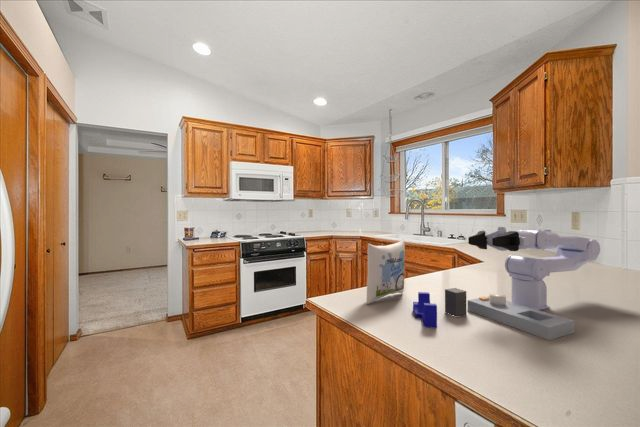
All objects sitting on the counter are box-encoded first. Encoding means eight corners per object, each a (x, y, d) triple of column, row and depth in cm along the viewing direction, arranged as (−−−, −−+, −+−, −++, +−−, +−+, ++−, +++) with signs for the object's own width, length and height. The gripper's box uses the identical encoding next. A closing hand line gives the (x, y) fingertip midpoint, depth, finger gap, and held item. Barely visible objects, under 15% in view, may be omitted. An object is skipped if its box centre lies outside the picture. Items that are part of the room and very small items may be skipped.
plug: (455, 310, 86) (455, 287, 86) (466, 315, 82) (466, 291, 82) (445, 312, 85) (444, 289, 85) (456, 317, 81) (456, 292, 81)
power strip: (490, 305, 90) (490, 288, 90) (573, 332, 70) (573, 310, 70) (467, 309, 87) (467, 291, 87) (548, 340, 66) (548, 316, 66)
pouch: (358, 301, 96) (357, 242, 96) (396, 291, 107) (395, 238, 107) (375, 307, 90) (374, 244, 89) (413, 296, 100) (413, 240, 100)
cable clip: (413, 311, 87) (413, 291, 87) (428, 312, 86) (428, 292, 86) (418, 327, 75) (418, 304, 75) (437, 328, 74) (436, 305, 74)
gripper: (490, 227, 94) (459, 227, 89) (537, 226, 80) (505, 226, 75) (491, 248, 93) (460, 250, 88) (539, 251, 80) (506, 253, 75)
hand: (480, 241), depth 82 cm, fingers open, 7 cm apart
